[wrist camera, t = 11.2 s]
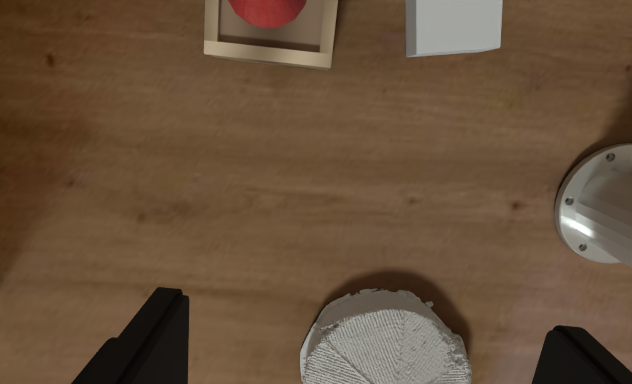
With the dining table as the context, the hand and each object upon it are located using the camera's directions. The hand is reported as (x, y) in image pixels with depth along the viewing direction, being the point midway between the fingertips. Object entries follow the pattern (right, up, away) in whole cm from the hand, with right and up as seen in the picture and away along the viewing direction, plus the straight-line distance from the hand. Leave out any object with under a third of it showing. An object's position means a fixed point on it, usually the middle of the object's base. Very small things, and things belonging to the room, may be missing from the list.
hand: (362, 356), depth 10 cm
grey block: (+11, +21, +26) cm, 35 cm away
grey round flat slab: (+6, -16, +36) cm, 40 cm away
